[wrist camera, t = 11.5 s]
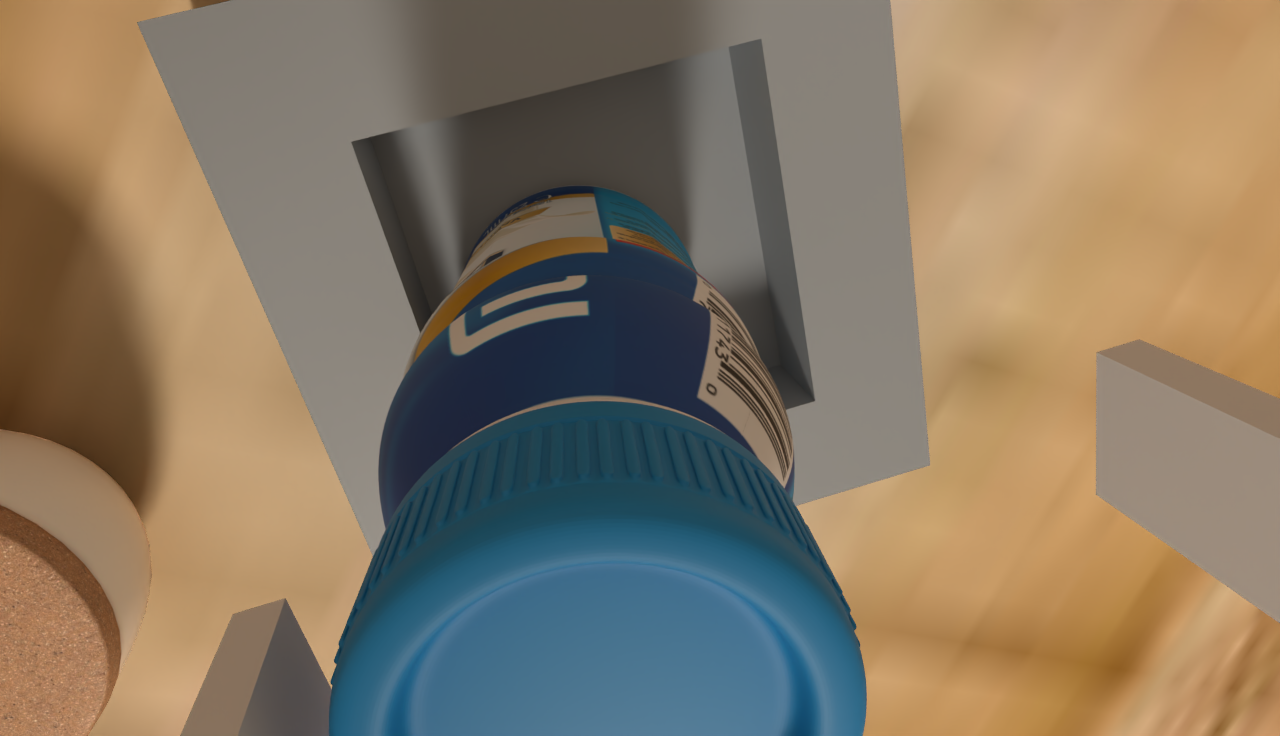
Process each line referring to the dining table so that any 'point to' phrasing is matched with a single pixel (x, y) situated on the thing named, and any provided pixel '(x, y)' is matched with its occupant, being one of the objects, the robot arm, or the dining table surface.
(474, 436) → the beverage bottle
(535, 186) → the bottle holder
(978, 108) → the dining table surface
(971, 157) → the dining table surface
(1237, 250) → the dining table surface
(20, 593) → the lidded jar
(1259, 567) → the robot arm
